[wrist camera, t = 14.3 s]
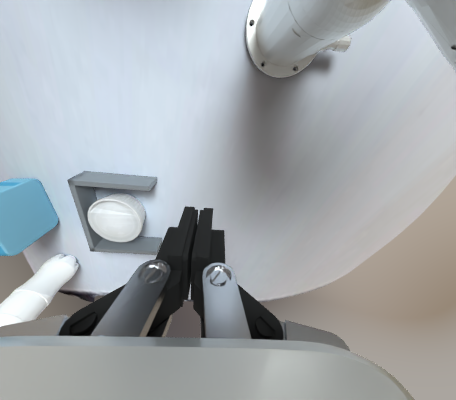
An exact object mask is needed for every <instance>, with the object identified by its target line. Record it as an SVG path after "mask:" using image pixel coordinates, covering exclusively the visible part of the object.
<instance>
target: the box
mask: <svg viewBox="0 0 456 400" xmlns="http://www.w3.org/2000/svg"><path fill="white" fill-rule="evenodd" d="M156 182H157V177H148V176H136V175H124V174H112V173H100V172H88V171H84V172H82V173H80V174H78V175H76V176H74V177H72V178H70V179H68V183H69V187H70V190H71V193H72V196H73V199H74V202H75V205H76V208H77V211H78V214H79V217H80V220H81V223H82V226H83V229H84V232H85V235H86V238H87V242H88V245H89V248H90V251H95V252H114V253H133V254H153V255H156V254H157V252H158V249H159V247H160V244H161V242H162V238H155V237H138V236H137V237H136V238H135V239H133V240H131V241H128V242H114V241H110V240H107V239H105V238H103V237H101V236H100V235H98V234H97V233H96V232H95V231H94V230H93V229H92V227H91V226H90V224H89V221H88V210H89V208H90V206H91V205H92V204H93V203H94V202H96V201H97V198H96V194H95V190H94V187H103V188H116V189H129V190H141V191H150V190H151V189H152V187H153V186H154V185H155V184H156Z"/></svg>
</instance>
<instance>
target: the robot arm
mask: <svg viewBox="0 0 456 400" xmlns="http://www.w3.org/2000/svg"><path fill="white" fill-rule="evenodd" d="M390 1H391V0H253V1H252V4H251V6H250V9H249V12H248V16H247V22H246V43H247V48H248V51H249V54H250V57H251V59H252V60H253V62H254V64H255V65H256V66H257V68H258V69H260V70H261V71H262V72H263V73H265V74H267V75H268V76H271V77H275V78H285V77H289V76H292V75H295V74H297V73H298V72H300V71H302V70H303V69H304V68H306V67H307V66H308V65H309V64H310V63H311V61H312V60H313V59H314V58H315V56H316V55H317V53H318V52H319V51H323V52H324V51H325V50H326V49H331V50H333V51H338V52H345V51H346V50H347V49H348V47H349V45H350V43H351V36H346V35H348V34H350V33H352V32H354V31H356V30H357V29H359V28H361V27H362V26H364V25H365V24H367V23H368V22H369V21H371V20H372V19H373V18H374V17H375V16H377V15H378V14H379V13H380V12H381V11H382V10H383V9H384V8H385V7H386V6H387V5H388V3H389V2H390ZM405 1H406V2H407V4H408V5H409V6H410V7H412V8H413V10H414V11H415V13H416V14H417V16H418V18H419V19H420V21H421V22H422V24H423V25H424V27H425V28H426V30H427V31H428V33H429V34H430V36H431V37H432V39H433V41H434V42H435V44H436V45H437V47H438V48H439V50H440V51H441V53H442V54H443V56H444V57H445V58H446V59H447V61H448V62H449V64H450V65H451V67H452V68H453V69H454V70H455V72H456V0H405ZM250 23H252V25H253V26H252V27H250ZM262 63H263V64H264V66H263V67H262V66H261V64H262ZM293 68H295V71H293ZM212 216H213V208H204V210H200V215H199V220H198V210H195V208H194V207H185V208H184V211H183V214H182V217H181V220H180V223H179V226H178V228H177V227H169V228H168V230H167V233H166V235H165V238H164V240H163V242H162V245H161V247H160V250H159V252H158V254H157V257H156V259H155V260H150V261H147V262H145V263H143V264H142V265H140V266H139V268H138V269H137V270H136V271H135V273H134V274H133V275H132V277H131V278H130V280H129V281H128V283H127V284H125V285H123V286H122V287H120V288H118V289H116V290H115V291H113V292H111V293H109V294H107V295H106V296H104V297H102V298H100V299H98V300H97V301H95V302H93V303H91V304H89V305H88V306H86V307H84V308H82V309H80V310H79V311H77V312H76V313H74V314H73V315H72V316H70V317H67V316H66V315H60V316H54V317H48V318H43V319H37V320H32V321H26V322H21V323H15V324H10V325H4V326H1V327H0V400H414V398H413V397H412V396H411V395H410V393H409V392H408V391H407V390H406V389H405V388H404V387H403V385H402V384H401V383H400V382H399V381H398V380H397V379H396V378H395V377H393V376H392V375H391V374H390V373H388V372H387V371H386V370H385V369H383V368H382V367H380V366H378V365H377V364H375V363H373V362H371V361H370V360H368V359H366V358H364V357H362V356H360V355H358V354H355V353H353V352H351V351H350V350H349V348H348V346H347V345H346V344H345V342H344V341H343V340H342V339H341V338H339V337H338V336H337V335H335V334H333V333H330V332H327V331H324V330H320V329H316V328H312V327H309V326H305V325H302V324H298V323H294V322H291V321H287V320H286V321H285V322H281V321H279V320H278V319H277V318H276V317H275V316H274V315H273V314H272V313H270V312H269V311H268V310H267V309H266V308H265V307H264V306H262V305H261V304H260V303H259V302H258V301H257V300H255V299H254V298H253V297H252V296H251V295H250V294H248V293H247V292H246V291H245V290H244V289H243V288H241V287H240V286H239V285H238V284H237V281H236V277H235V273H234V271H233V269H232V268H231V267H230V266H228V265H226V264H225V241H224V230H211V229H212ZM197 222H198V225H197ZM190 284H191V300H194V305H193V307H194V310H195V311H196V312H197V313H198V314H199V315H200V330H201V338H172V337H170V338H169V337H165V336H166V333H167V331H168V328H169V326H170V323H171V320H172V317H173V313H174V312H175V311H177V310H178V309H179V308H180V307H182V306H183V301H184V300H188V295H189V289H190Z"/></svg>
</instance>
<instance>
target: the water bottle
mask: <svg viewBox="0 0 456 400" xmlns="http://www.w3.org/2000/svg"><path fill="white" fill-rule="evenodd" d="M78 266H79V264H78V263H76V258H75V257H74V256H72V255H68V256H65V257H64V254H58V255H56V256H54V257H52V258H50V259H49V260H48V261H46V262H45V263H44V264H43V265H42V267H41V268H40V269H39V270H38V272H37V273H36V274H35V275H34V276H33V277H32V278H31V279H29V280H28V281H27V282H26V283H25V284H23V285H22V286H20V287H19V288H17V289H15V291H13V292H12V294H11V295H10V296H9V297H8V298H7V299H6V300H4V301H3V302H2V303H1V304H0V327H1V326H4V325H10V324H15V323H21V322H26V321H32V320H35V319H36V318H37V317H38V316H39V314H40V313H41V312H42V311H43V310H44V309H45V308H46V307H47V306H48V305H49V304H50V302H51V301H52V299H53V297H54V296H55V294H56V293H57V291H58V290H59V289H60V288H61V287H62V286H63V285H64V284H65V283H66V282H67V281H69V280H70V279H71V278H72V277H73V276H74V274H75V273H76V271H77V269H78Z"/></svg>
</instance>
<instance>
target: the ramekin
mask: <svg viewBox="0 0 456 400" xmlns="http://www.w3.org/2000/svg"><path fill="white" fill-rule="evenodd" d="M145 215H146V214H145V209H144V207H143V205H142V204H141V203H140V201H138V200H137V199H136V198H135V197H133V196H131V195H128V194H124V193H116V194H112V195H109V196H107V197H105V198H101V199H99V200H97V201H96V202H94V203H93V204H92V205H91V206H90V208H89V210H88V221H89V224H90V226H91V227H92V229H93V230H94V231H95V232H96V233H97V234H98V235H100V236H101V237H103V238H105V239H107V240H110V241H114V242H128V241H131V240H133V239H135V238H136V237H137V236H138V235H139V234H140V232H141V231H142V228H143V223H144V220H145Z"/></svg>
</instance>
